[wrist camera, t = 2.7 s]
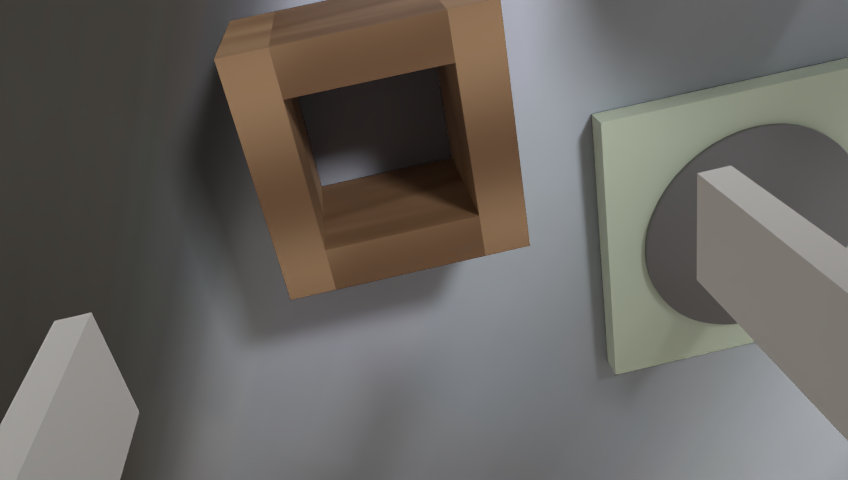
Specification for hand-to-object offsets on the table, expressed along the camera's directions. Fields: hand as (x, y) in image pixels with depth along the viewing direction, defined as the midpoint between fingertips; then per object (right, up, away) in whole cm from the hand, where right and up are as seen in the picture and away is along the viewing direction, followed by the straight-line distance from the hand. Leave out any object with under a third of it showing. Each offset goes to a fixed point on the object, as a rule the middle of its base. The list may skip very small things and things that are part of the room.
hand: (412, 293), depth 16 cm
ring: (-2, +6, +11) cm, 12 cm away
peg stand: (+13, +2, +15) cm, 20 cm away
